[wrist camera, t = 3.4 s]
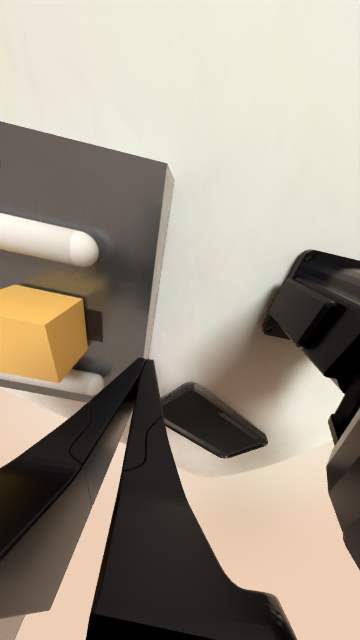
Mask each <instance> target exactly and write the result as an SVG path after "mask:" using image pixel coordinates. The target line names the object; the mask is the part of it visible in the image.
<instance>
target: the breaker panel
mask: <svg viewBox="0 0 360 640" xmlns="http://www.w3.org/2000/svg"><path fill="white" fill-rule="evenodd" d="M173 185H174V178H173V176H172V173H171V171H170V169H169V166H168V164H167V163H163V162H159V161H155V160H151V159H147V158H143V157H139V156H135V155H131V154H127V153H124V152H120V151H116V150H112V149H108V148H104V147H100V146H96V145H92V144H88V143H84V142H80V141H76V140H72V139H68V138H64V137H60V136H56V135H52V134H48V133H44V132H40V131H36V130H32V129H28V128H24V127H20V126H16V125H12V124H8V123H4V122H1V121H0V213H3V214H7V215H12V216H16V217H20V218H25V219H29V220H34V221H38V222H42V223H47V224H51V225H55V226H60V227H64V228H69V229H73V230H77V231H81V232H84V233H86V234H88V235H89V236H91V237H92V238H93V239H94V240H95V242H96V244H97V246H98V249H99V255H98V259H97V260H96V262H95V263H94V264H92V265H90V266H87V267H79V266H75V265H70V264H66V263H61V262H56V261H52V260H47V259H43V258H38V257H34V256H29V255H24V254H20V253H15V252H11V251H6V250H2V249H0V289H3V288H6V287H9V286H12V285H19V286H24V287H29V288H34V289H38V290H43V291H48V292H53V293H57V294H62V295H67V296H72V297H76V298H81V299H83V306H84V316H85V325H86V335H87V345H88V350H87V351H86V352H85V353H84V354H83V356H82V357H81V358H80V359H79V360H78V362H77V363H76V364H75V365H74V366H73V368H72V369H75V370H80V371H85V372H91V373H96V374H99V375H101V376H102V377H103V379H104V387H103V388H105V387H106V386H107V385H108V384H109V383H110V382H111V381H113V380H114V379H115V378H116V377H117V376H118V375H119V374H120V373H122V372H123V371H124V370H125V369H126V368H127V367H128V366H129V365H131V364H132V363H133V362H134V361H135V360H136V359H137V358H139V357H141V358H145V359H148V358H149V351H150V344H151V337H152V331H153V324H154V317H155V310H156V303H157V296H158V289H159V282H160V275H161V268H162V261H163V254H164V248H165V241H166V234H167V227H168V220H169V213H170V206H171V199H172V192H173ZM0 386H1V387H6V388H12V389H17V390H23V391H28V392H33V393H39V394H44V395H50V396H55V397H61V398H66V399H72V400H77V401H83V402H89V401H90V400H91V399H92V398H93V397H94V396H96V395H97V394H96V395H85V394H79V393H74V392H68V391H63V390H58V389H52V388H47V387H41V386H36V385H31V384H25V383H20V382H14V381H9V380H3V379H0ZM133 408H134V407H133ZM132 411H133V409H132Z"/></svg>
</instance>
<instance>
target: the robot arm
mask: <svg viewBox="0 0 360 640" xmlns="http://www.w3.org/2000/svg"><path fill="white" fill-rule="evenodd" d="M309 255H311V256H312V257H311V259H310V260H309V261H307V257H308V256H309ZM269 327H271V328H270V329H269V330H267V328H269ZM262 331H263V332H264V334H266V335H270V336H275V337H279V338H284V339H289V340H292V342H293V343H294V344H295V345H296V346H297V347H298V348H300V349H301V350H302V351H303V352H304V353H305V354H306V356H307V357H308V358H309V359H310V360H311V361H312V362H313V364H314V365H315V366H316V367H317V368H318V369H319V371H320V372H321V373H322V374H323V375H324V376H325V377H328V378H330V379H331V380H332V381H333V382H334V383H335V384H336V385H337V387H338V388H339V389H340V390H341V391H342V392H343V393H344V394H345V395H344V397H343V399H342V401H341V403H340V404H339V406H338V408H337V410H336V412H335V414H331V416H330V418H329V420H328V424H329V428H330V431H331V435H332V438H333V442H334V445H335V447H334V449H333V450H332V453H331V456H330V458H329V461H328V464H327V467H326V468H327V480H328V492H329V496H330V498H331V501H332V504H333V507H334V510H335V513H336V515H337V518H338V521H339V524H340V526H341V529H342V531H343V540H344V543H345V545H346V548H347V549H348V551H349V553H350V554H351V556H352V558H353V560H354V561H355V563H356V564H357V566H358V568H359V570H360V261H358V260H354V259H350V258H346V257H341V256H337V255H333V254H329V253H325V252H320V251H316V250H306V251H304V252H303V253H302V254H301V255H300V257H299V259H298V260H297V262H296V264H295V266H294V268H293V270H292V272H291V273H290V275H289V277H288V279H287V280H285V281H284V283H283V285H282V287H281V289H280V291H279V292H278V294H277V296H276V298H275V300H274V302H273V304H272V305H271V307H270V309H269V314H268V316H267V318H266V320H265V321H264V323H263V325H262ZM133 407H134V408H133ZM132 409H133V413H132V419H131V424H130V429H129V435H128V440H127V445H126V451H125V456H124V461H123V467H122V473H121V478H120V483H119V488H118V493H117V498H116V502H115V506H114V511H113V515H112V519H111V524H110V528H109V533H108V537H107V542H106V546H105V551H104V555H103V560H102V564H101V569H100V573H99V578H98V582H97V586H96V591H95V595H94V600H93V604H92V608H91V613H90V617H89V623H88V630H87V636H86V640H297V638H296V636H295V634H294V632H293V630H292V628H291V626H290V623H289V621H288V619H287V617H286V615H285V613H284V611H283V609H282V607H281V604H280V602H279V600H278V599H277V597H276V596H274V595H272V594H270V593H265V592H259V591H253V590H246V589H243V588H240V587H238V586H237V585H236V584H234V583H233V582H232V581H231V580H230V579H229V578H228V576H227V575H226V574H225V573H224V571H223V570H222V567H221V566H220V564H219V562H218V560H217V558H216V556H215V554H214V552H213V550H212V548H211V547H210V544H209V543H208V541H207V539H206V537H205V535H204V533H203V531H202V529H201V527H200V525H199V523H198V521H197V519H196V517H195V515H194V514H193V511H192V509H191V508H190V506H189V503H188V501H187V499H186V496H185V493H184V490H183V488H182V485H181V481H180V478H179V475H178V472H177V468H176V465H175V462H174V458H173V455H172V452H171V448H170V445H169V441H168V437H167V433H166V428H165V422H164V417H163V411H162V406H161V400H160V394H159V388H158V382H157V376H156V370H155V365H154V360H151V359H145V358H141V357H139V358H137V359H136V360H135V361H134V362H133V363H132V364H131V365H129V366H128V367H127V368H126V369H125V370H124V371H123V372H122V373H120V374H119V375H118V376H117V377H116V378H115V379H114V380H113V381H111V382H110V383H109V384H108V385H107V386H106V387H105V388H103V389H102V390H101V391H100V392H99V393H98V394H97V395H96V396H94V397H93V398H92V399H91V400H90V401H89V402H88V403H86V404H85V405H84V406H83V407H82V408H81V409H80V410H79V411H77V412H76V413H75V414H74V415H73V416H71V417H70V418H69V419H68V420H66V421H65V422H64V423H63V424H61V425H60V426H59V427H58V428H56V429H55V430H53V431H52V432H51V433H49V434H48V435H47V436H45V437H44V438H43V439H41V440H40V441H39V442H37V443H36V444H35V445H33V446H32V447H30V448H29V449H28V450H26V451H25V452H24V453H22V454H21V455H20V456H19V457H17V458H16V459H14V460H12V461H11V462H10V463H8V464H6V465H5V466H3V467H1V468H0V640H15V638H16V636H17V633H18V631H19V628H20V626H21V624H22V622H23V619H24V617H25V615H26V614H31V613H37V612H43V611H49V610H50V608H51V606H52V604H53V601H54V599H55V596H56V594H57V591H58V589H59V587H60V584H61V581H62V579H63V577H64V575H65V572H66V570H67V567H68V565H69V562H70V560H71V558H72V555H73V552H74V550H75V548H76V545H77V543H78V540H79V538H80V536H81V533H82V531H83V528H84V526H85V523H86V521H87V519H88V516H89V514H90V511H91V509H92V506H93V504H94V502H95V499H96V497H97V494H98V492H99V489H100V487H101V484H102V482H103V479H104V477H105V475H106V472H107V470H108V467H109V465H110V462H111V460H112V458H113V455H114V453H115V451H116V448H117V446H118V443H119V441H120V438H121V436H122V433H123V431H124V429H125V426H126V424H127V421H128V419H129V416H130V414H131V412H132Z"/></svg>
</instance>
